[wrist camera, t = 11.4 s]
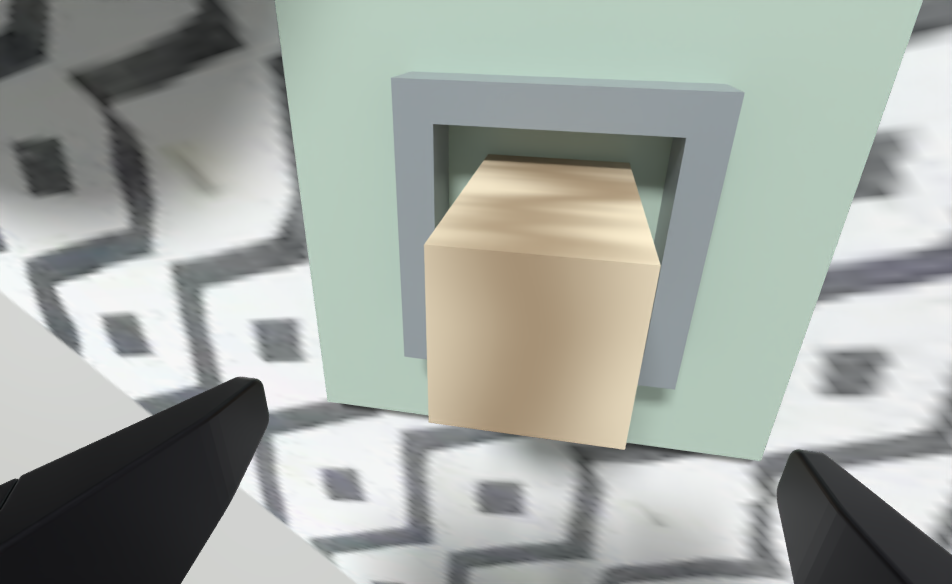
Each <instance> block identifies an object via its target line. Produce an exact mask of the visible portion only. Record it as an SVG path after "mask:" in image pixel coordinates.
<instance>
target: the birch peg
mask: <svg viewBox="0 0 952 584" xmlns="http://www.w3.org/2000/svg"><path fill="white" fill-rule="evenodd" d="M424 263H425V301H426V340H427V378H428V417H429V423H436V424H443V425H451V426H458V427H465V428H472V429H479V430H486V431H494V432H501V433H508V434H515V435H522V436H530V437H537V438H544V439H551V440H558V441H566V442H573V443H580V444H587V445H594V446H602V447H609V448H616V449H623V450H625V447H626V442H627V436H628V431H629V426H630V421H631V416H632V411H633V406H634V400H635V395H636V390H637V385H638V380H639V375H640V369H641V364H642V359H643V354H644V349H645V344H646V339H647V333H648V328H649V323H650V318H651V313H652V308H653V303H654V297H655V292H656V287H657V282H658V277H659V272H660V266H661V265H660V262H659V258H658V255H657V252H656V248H655V245H654V242H653V239H652V235H651V232H650V229H649V225H648V222H647V219H646V216H645V212H644V209H643V206H642V202H641V199H640V196H639V193H638V189H637V186H636V183H635V179H634V176H633V173H632V170H631V166H630V163H625V162H609V161H592V160H576V159H560V158H544V157H527V156H511V155H495V154H488V155H487V157H486V158H485V159H484V161H483V162H482V164H481V165H480V166H479V168H478V169H477V171H476V172H475V173H474V175H473V176H472V178H471V179H470V180H469V182H468V183H467V185H466V186H465V187H464V189H463V190H462V192H461V193H460V195H459V196H458V197H457V199H456V200H455V202H454V203H453V204H452V206H451V207H450V209H449V210H448V211H447V213H446V214H445V216H444V217H443V218H442V220H441V221H440V223H439V224H438V226H437V227H436V228H435V230H434V231H433V233H432V234H431V235H430V237H429V238H428V240H427V241H426V242H425V244H424Z"/></svg>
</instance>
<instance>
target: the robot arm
mask: <svg viewBox="0 0 952 584" xmlns="http://www.w3.org/2000/svg"><path fill="white" fill-rule="evenodd" d="M268 422H269V412H268V407H267V402H266V397H265V392H264V387H263V384H262V382H261V381H260V380H258V379H255V378H248V377H236V378H233V379H231V380H229V381H227V382H225V383H222V384H220V385H218V386H216V387H214V388H211V389H209V390H207V391H205V392H203V393H201V394H198V395H196V396H194V397H192V398H190V399H187V400H185V401H183V402H181V403H179V404H177V405H174V406H172V407H170V408H168V409H166V410H163V411H161V412H159V413H157V414H155V415H153V416H150V417H148V418H146V419H144V420H142V421H139V422H137V423H135V424H133V425H131V426H129V427H126V428H124V429H122V430H120V431H118V432H116V433H113V434H111V435H109V436H107V437H105V438H102V439H100V440H98V441H96V442H94V443H91V444H89V445H87V446H85V447H83V448H81V449H78V450H76V451H74V452H72V453H70V454H67V455H65V456H63V457H61V458H59V459H56V460H54V461H52V462H50V463H48V464H46V465H43V466H41V467H39V468H37V469H35V470H33V471H31V472H28V473H26V474H24V475H22V476H21V477H20V478H19V479H13V480H10V481H8V482H6V483H4V484H2V485H0V584H181V583H182V581H183V579H184V578H185V576H186V574H187V573H188V571H189V570H190V568H191V566H192V565H193V563H194V561H195V560H196V558H197V557H198V555H199V553H200V552H201V550H202V548H203V547H204V545H205V543H206V542H207V540H208V539H209V537H210V535H211V534H212V532H213V530H214V529H215V527H216V526H217V524H218V522H219V521H220V519H221V517H222V516H223V514H224V512H225V511H226V509H227V507H228V506H229V504H230V502H231V500H232V498H233V496H234V495H235V493H236V490H237V489H238V487H239V485H240V482H241V480H242V478H243V476H244V474H245V472H246V470H247V468H248V466H249V464H250V462H251V460H252V458H253V456H254V453H255V451H256V449H257V447H258V445H259V443H260V441H261V439H262V437H263V435H264V433H265V431H266V428H267V426H268ZM777 503H778V508H779V513H780V518H781V523H782V528H783V532H784V537H785V542H786V547H787V552H788V557H789V561H790V566H791V571H792V576H793V581H794V584H952V555H951V554H950V553H949V552H948V551H946V550H945V549H944V548H943V547H941V546H940V545H939V544H938V543H936V542H935V541H934V540H932V539H931V538H930V537H929V536H927V535H926V534H925V533H924V532H922V531H921V530H920V529H919V528H917V527H916V526H915V525H914V524H912V523H911V522H910V521H909V520H907V519H906V518H905V517H904V516H902V515H901V514H900V513H899V512H897V511H896V510H895V509H893V508H892V507H891V506H890V505H888V504H887V503H886V502H885V501H883V500H882V499H881V498H880V497H878V496H877V495H876V494H875V493H873V492H872V491H871V490H870V489H868V488H867V487H866V486H865V485H863V484H862V483H861V482H860V481H858V480H857V479H856V478H854V477H853V476H852V475H851V474H849V473H848V472H847V471H846V470H844V469H843V468H842V467H841V466H839V465H838V464H837V463H836V462H834V461H833V460H832V459H831V458H829V457H828V456H827V455H825V454H823V453H821V452H815V451H807V450H799V449H798V450H794V451H793V452H792V453H791V454H790V456H789V458H788V461H787V463H786V466H785V469H784V471H783V474H782V476H781V479H780V482H779V484H778V488H777Z"/></svg>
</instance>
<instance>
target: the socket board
mask: <svg viewBox="0 0 952 584" xmlns="http://www.w3.org/2000/svg"><path fill="white" fill-rule="evenodd" d="M922 1H923V0H275V7H276V14H277V22H278V30H279V37H280V45H281V52H282V60H283V67H284V75H285V82H286V90H287V97H288V105H289V113H290V120H291V128H292V135H293V143H294V150H295V158H296V165H297V173H298V181H299V188H300V196H301V203H302V211H303V218H304V226H305V233H306V241H307V248H308V256H309V264H310V271H311V279H312V286H313V294H314V301H315V309H316V316H317V324H318V332H319V339H320V347H321V354H322V362H323V369H324V377H325V384H326V392H327V399H328V402H335V403H343V404H350V405H357V406H364V407H372V408H379V409H386V410H393V411H401V412H408V413H415V414H423V415H428V378H427V340H426V301H425V263H424V244H425V242H426V241H427V240H428V238H429V237H430V235H431V234H432V233H433V231H434V230H435V228H436V227H437V226H438V224H439V223H440V221H441V220H442V218H443V217H444V216H445V214H446V213H447V211H448V210H449V209H450V207H451V206H452V204H453V203H454V202H455V200H456V199H457V197H458V196H459V195H460V193H461V192H462V190H463V189H464V187H465V186H466V185H467V183H468V182H469V180H470V179H471V178H472V176H473V175H474V173H475V172H476V171H477V169H478V168H479V166H480V165H481V164H482V162H483V161H484V159H485V158H486V157H487V155H488V154H495V155H511V156H527V157H544V158H560V159H576V160H592V161H609V162H625V163H630V166H631V170H632V173H633V176H634V179H635V183H636V186H637V189H638V193H639V196H640V199H641V202H642V206H643V209H644V212H645V216H646V219H647V222H648V225H649V229H650V232H651V235H652V239H653V242H654V245H655V248H656V252H657V255H658V258H659V262H660V265H661V266H660V272H659V277H658V282H657V287H656V292H655V297H654V303H653V308H652V313H651V318H650V323H649V328H648V333H647V339H646V344H645V349H644V354H643V359H642V364H641V369H640V375H639V380H638V385H637V390H636V395H635V400H634V406H633V411H632V416H631V421H630V426H629V431H628V436H627V442H626V443H633V444H641V445H648V446H655V447H663V448H670V449H677V450H684V451H692V452H699V453H706V454H713V455H721V456H728V457H735V458H743V459H750V460H757V461H761V459H762V456H763V453H764V450H765V447H766V444H767V441H768V439H769V436H770V433H771V430H772V427H773V424H774V422H775V419H776V416H777V413H778V410H779V407H780V405H781V402H782V399H783V396H784V393H785V390H786V388H787V385H788V382H789V379H790V376H791V373H792V371H793V368H794V365H795V362H796V359H797V356H798V353H799V351H800V348H801V345H802V342H803V339H804V336H805V334H806V331H807V328H808V325H809V322H810V319H811V317H812V314H813V311H814V308H815V305H816V302H817V300H818V297H819V294H820V291H821V288H822V285H823V283H824V280H825V277H826V274H827V271H828V268H829V265H830V263H831V260H832V257H833V254H834V251H835V248H836V246H837V243H838V240H839V237H840V234H841V231H842V229H843V226H844V223H845V220H846V217H847V214H848V212H849V209H850V206H851V203H852V200H853V197H854V195H855V192H856V189H857V186H858V183H859V180H860V177H861V175H862V172H863V169H864V166H865V163H866V160H867V158H868V155H869V152H870V149H871V146H872V143H873V141H874V138H875V135H876V132H877V129H878V126H879V124H880V121H881V118H882V115H883V112H884V109H885V107H886V104H887V101H888V98H889V95H890V92H891V89H892V87H893V84H894V81H895V78H896V75H897V72H898V70H899V67H900V64H901V61H902V58H903V55H904V53H905V50H906V47H907V44H908V41H909V38H910V36H911V33H912V30H913V27H914V24H915V21H916V19H917V16H918V13H919V10H920V7H921V4H922Z"/></svg>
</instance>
